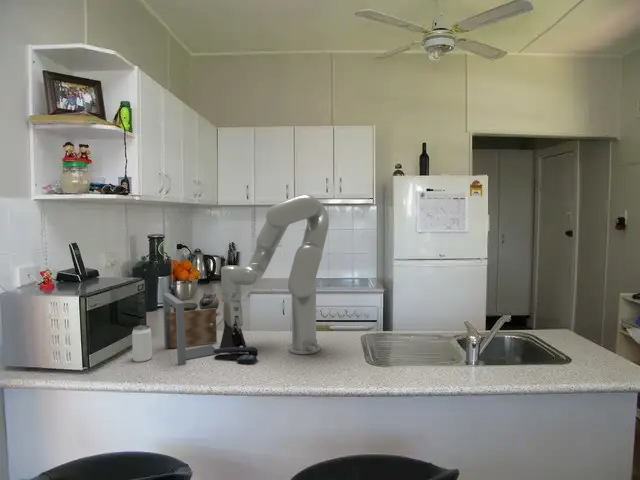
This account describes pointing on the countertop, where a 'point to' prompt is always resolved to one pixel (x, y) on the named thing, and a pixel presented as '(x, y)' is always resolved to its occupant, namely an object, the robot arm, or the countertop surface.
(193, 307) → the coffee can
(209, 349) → the rubber mat
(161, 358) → the countertop surface
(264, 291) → the countertop surface
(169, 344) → the gate door
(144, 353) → the can
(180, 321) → the door frame
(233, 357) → the can opener
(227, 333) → the phone stand
